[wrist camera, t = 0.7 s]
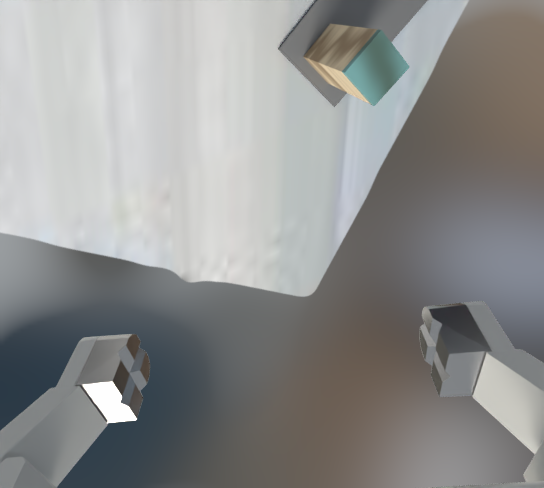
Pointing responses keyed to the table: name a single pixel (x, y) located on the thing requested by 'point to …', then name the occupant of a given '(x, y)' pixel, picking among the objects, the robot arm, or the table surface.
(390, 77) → the tall block
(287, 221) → the table surface
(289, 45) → the mat
